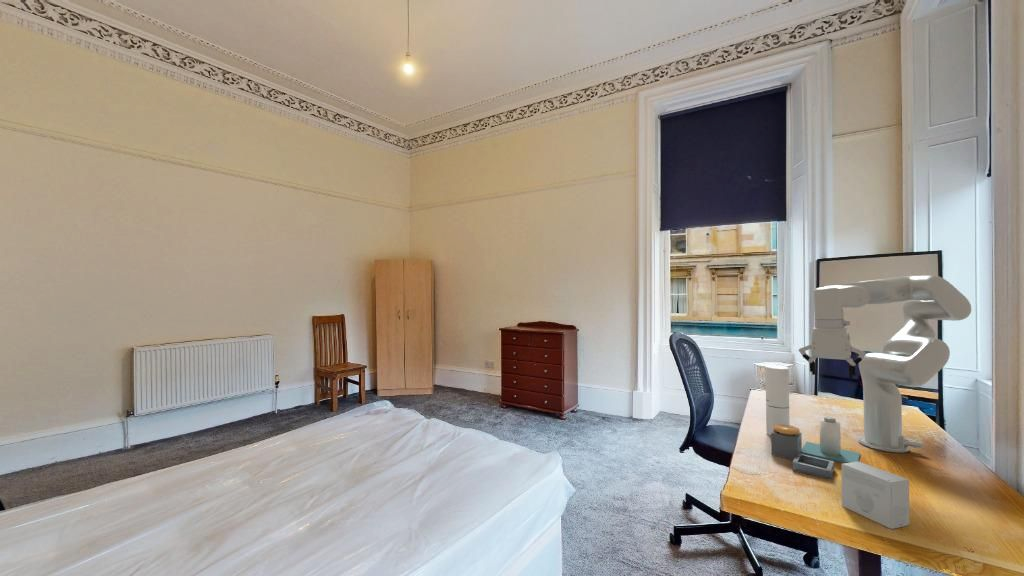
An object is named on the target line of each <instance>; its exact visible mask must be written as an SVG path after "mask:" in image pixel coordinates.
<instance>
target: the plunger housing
mask: <svg viewBox="0 0 1024 576" xmlns="http://www.w3.org/2000/svg"><path fill="white" fill-rule="evenodd" d="M802 433H803V432H800V434H797V435H793V436H789V435H784V434H780V433H779V432H777V431H775V430H773V432H772V433H771V436H770V439H771V443H770V444H771V446H770V447H771V450H770V451H771V455H772V456H775V455H776V457H780V458H784V459H789V460H792V461H793V460H794V459H795V457H796V456H797V454H798V453H800V454H802V448H803V444H802V440H803V438H802V437H803V436H802V435H803V434H802Z"/></svg>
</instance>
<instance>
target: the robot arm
mask: <svg viewBox="0 0 1024 576" xmlns="http://www.w3.org/2000/svg"><path fill="white" fill-rule="evenodd" d="M898 302H903V305H902V314H903V320H904V322H903V325H902V327H901V328H900V329H899V330H898V331H897V332H895V334H894V335H893V336H891V337H890V338H889V339H888V340H887V341H886V342H885V344H884V345H883V347H882V352H868V353H867V352H866V351H863V350H862V349H859V348H856V347H854V346H852V345H851V337H850V332H849V330H848V328H845V327H846V326H850V325H851V323H850V322H851V321H850V320H845V317H844V313H845V312H844V309H859V308H863V307H865V306H867V305H887V304H891V303H898ZM813 306H814V307H813V310H814V327H812V333H811V344H808V345H806V346H803V347H801V348H799V349H798V352H799V353H800V355H801V357H803V359H805V360H806V361H807V362H808V363H809V372H810V373H811V375H812V376H813V375H814V376H815V375H816V374H817V369H816V368H817V365H816V362H815V360H816V359H828V360H845V361H846V362H847V363H848V364H849V365H848V375H849V378H850V379H853V378H854V376H856V375H857V373H856V366H857V365H858V368H859V373H860V377H861V380H862V392H863V393H862V394H863V401H862V402H863V435H861V436H858V440H857V441H858V443H860V444H861V445H863V446H865V447H868V448H871V449H874V450H879V451H882V452H887V453H888V452H889V453H896V454H898V453H899V454H901V453H902V454H904V453H907V452H909V451H910V447H913V448H917V449H923V442H920V441H917V440H916V439H909V438H907V437H905V436H904V433H903V417H902V416H903V409H902V408H903V407H902V401H903V400H902V394H901V391H900V390H899V388H898V386H905V387H910V388H919V387H922V386H924V385H925V384H927V383H928V382H929V381H930V380H931V379H932V378H934V376H936V374H938V372H940V371H941V370H942V369H943V368H944V367H945V366H946V365H947V363H948V361H949V359H950V354H951V353H950V352H951V350H950V347H949V346H948V344H947V343H946V342H945V341H943V340H942V339H940V338H936V332H935V330H934V327H932V326H931V325H930V322H929V320H933V321H934V320H935V321H961V320H962V321H963V320H965V319H967V318H968V317H969V316H970V315H971V313H972V304H971V303H970V300H969V299H968V298H967V297H966V296H965V295H964V294H963V293H962V292H960V290H958V289H957V287H956V286H954V285H953V284H952V283H950V281H948V280H946V279H945V278H943V277H941V276H939V275H936V274H935V275H933V274H930V275H929V274H928V275H926V274H925V275H923V274H922V275H904V276H895V277H894V276H893V277H889V278H880V279H873V280H871V279H870V280H864V281H863V280H862V281H858V282H856V281H855V282H848V283H847V282H846V283H841V284H840V283H839V284H832V285H831V284H830V285H825V286H823V287H817V288H815V289H814V290H813ZM808 350H811V356H810V355H808V354H807V353H806V351H808ZM852 353H855V354H857V355H858V356H857V357H856V358H854V359H853V358H852V357H851V356H852ZM897 385H898V386H897Z"/></svg>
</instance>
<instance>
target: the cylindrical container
mask: <svg viewBox="0 0 1024 576" xmlns="http://www.w3.org/2000/svg"><path fill="white" fill-rule="evenodd" d="M789 372H790V369H789V367H787V366H784V365H783V366H782V365H774V364H773V365H765V416H766V417H765V420H766V422H765V423H766V425H765V426H766V427H765V429H766V430H765V431H766V432H767V433H766V434H767V435H768V434H769V435H768V436H770V435H771V433H772V432H773V430H774V429H773V426H774V425H776V424H784V425H790V373H789ZM790 426H791V425H790Z"/></svg>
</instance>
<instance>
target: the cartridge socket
mask: <svg viewBox="0 0 1024 576" xmlns="http://www.w3.org/2000/svg"><path fill="white" fill-rule="evenodd" d="M791 462H792V471H793V472H794V471H795V472H798V473H801V474H804V475H805V474H806V475H808V476H809V475H810V476H813V477H816V478H820V479H826V480H829V481H831V480H832V477H833V475H834V472H835V461H831V460H827V459H822V458H818V457H814V456H809V455H805V454H800V453H798V454H797V456H796V457H795V459H794V460H792V461H791Z"/></svg>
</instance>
